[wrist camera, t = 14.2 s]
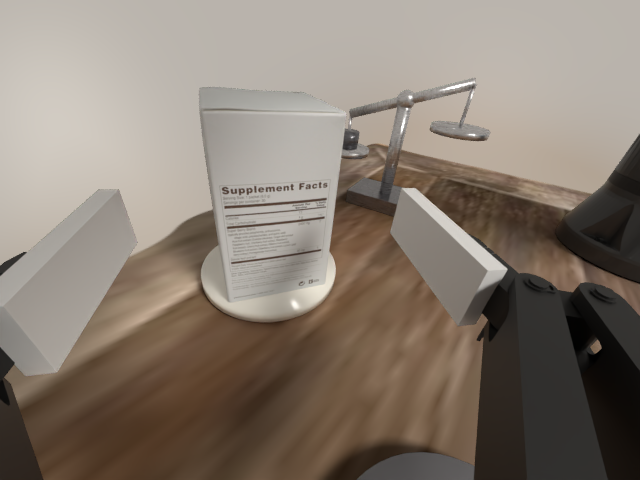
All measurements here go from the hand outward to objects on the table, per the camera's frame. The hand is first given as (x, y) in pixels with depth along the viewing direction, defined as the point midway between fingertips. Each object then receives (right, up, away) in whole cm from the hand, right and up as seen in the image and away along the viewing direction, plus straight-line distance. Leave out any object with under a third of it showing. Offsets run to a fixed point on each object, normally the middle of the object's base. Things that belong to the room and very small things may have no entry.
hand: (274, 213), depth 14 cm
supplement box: (-3, -4, +14) cm, 15 cm away
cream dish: (-3, -5, +15) cm, 16 cm away
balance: (+12, +5, +31) cm, 34 cm away
